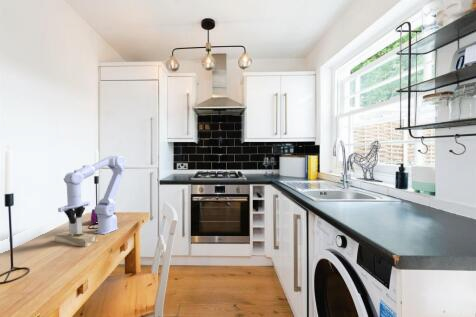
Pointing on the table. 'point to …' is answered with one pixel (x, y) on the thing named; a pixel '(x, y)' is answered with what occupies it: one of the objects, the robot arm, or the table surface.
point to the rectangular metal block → (76, 226)
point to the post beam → (76, 238)
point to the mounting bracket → (94, 217)
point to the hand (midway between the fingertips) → (75, 222)
